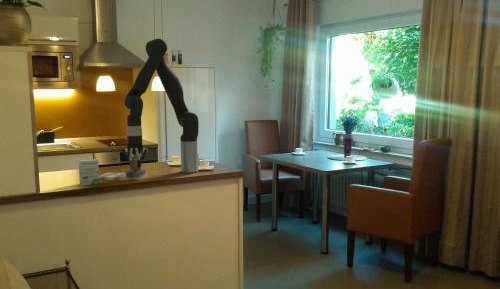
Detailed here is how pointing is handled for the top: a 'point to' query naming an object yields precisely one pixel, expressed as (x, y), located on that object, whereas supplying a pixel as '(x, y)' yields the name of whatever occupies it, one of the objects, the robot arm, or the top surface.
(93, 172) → the ink box
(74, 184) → the top surface
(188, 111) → the robot arm
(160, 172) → the top surface
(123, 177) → the birch board
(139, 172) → the sanding block
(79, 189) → the top surface
